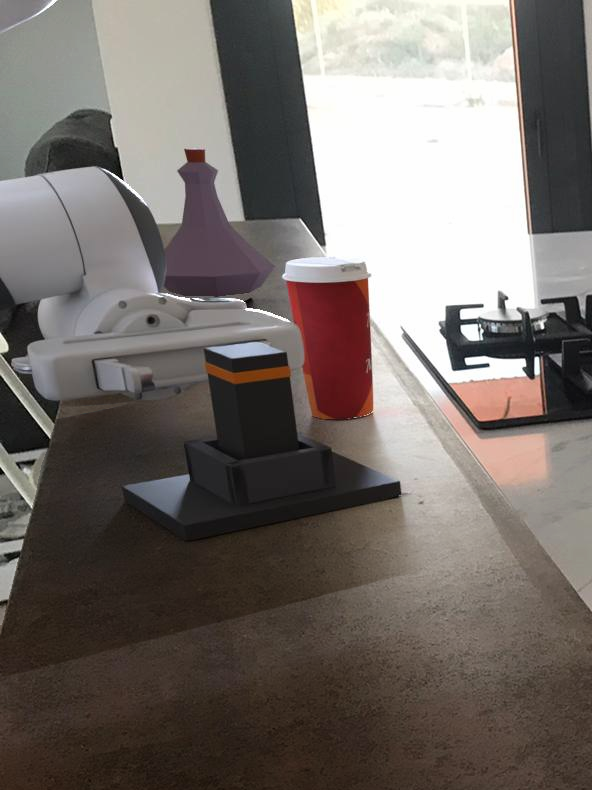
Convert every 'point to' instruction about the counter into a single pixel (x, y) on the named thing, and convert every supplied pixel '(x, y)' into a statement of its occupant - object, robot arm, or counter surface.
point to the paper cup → (333, 333)
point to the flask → (209, 242)
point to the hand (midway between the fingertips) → (208, 372)
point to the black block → (251, 400)
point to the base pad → (256, 489)
